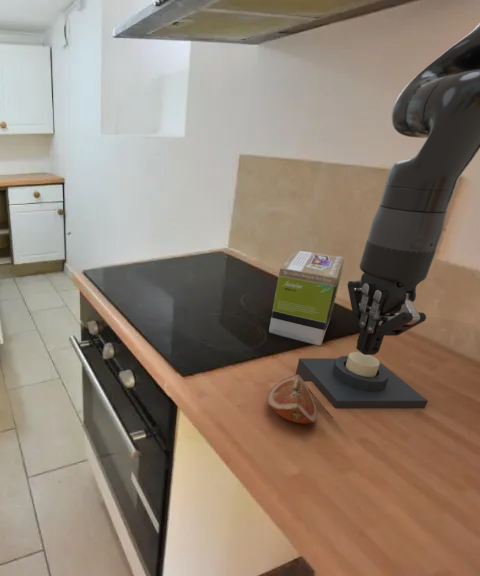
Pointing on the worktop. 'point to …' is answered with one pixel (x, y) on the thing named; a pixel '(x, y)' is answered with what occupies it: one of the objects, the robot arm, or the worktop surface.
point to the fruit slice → (293, 400)
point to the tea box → (306, 296)
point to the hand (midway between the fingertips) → (365, 351)
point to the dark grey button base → (357, 385)
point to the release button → (362, 364)
